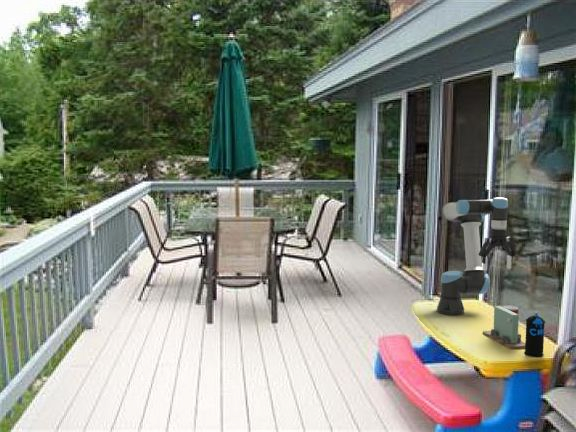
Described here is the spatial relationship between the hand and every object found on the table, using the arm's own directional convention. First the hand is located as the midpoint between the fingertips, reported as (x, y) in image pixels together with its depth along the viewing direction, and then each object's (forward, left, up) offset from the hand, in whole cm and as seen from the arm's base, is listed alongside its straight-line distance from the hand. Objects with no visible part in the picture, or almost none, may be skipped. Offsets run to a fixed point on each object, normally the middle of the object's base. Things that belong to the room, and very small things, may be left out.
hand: (496, 269), depth 301 cm
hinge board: (+16, -4, -32) cm, 36 cm away
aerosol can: (+36, -2, -33) cm, 48 cm away
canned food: (-2, +10, -33) cm, 34 cm away
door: (+16, -4, -31) cm, 35 cm away
